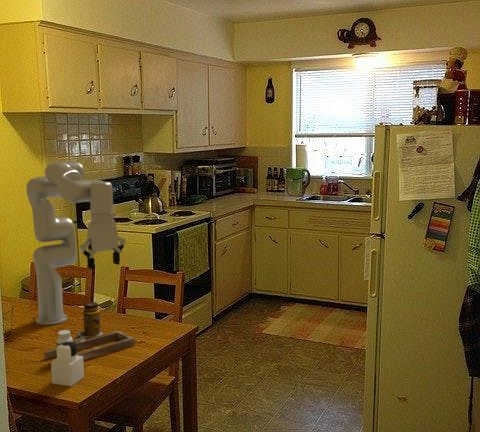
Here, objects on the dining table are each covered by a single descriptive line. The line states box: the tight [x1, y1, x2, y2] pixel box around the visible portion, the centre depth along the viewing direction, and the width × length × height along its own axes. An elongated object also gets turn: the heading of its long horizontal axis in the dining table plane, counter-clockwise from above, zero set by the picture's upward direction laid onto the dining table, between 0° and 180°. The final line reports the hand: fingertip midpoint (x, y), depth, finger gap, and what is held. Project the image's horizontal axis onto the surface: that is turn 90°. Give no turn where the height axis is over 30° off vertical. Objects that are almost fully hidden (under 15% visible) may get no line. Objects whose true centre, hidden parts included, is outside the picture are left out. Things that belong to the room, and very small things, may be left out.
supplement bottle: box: [55, 329, 74, 347], centre depth 189 cm, size 5×5×10 cm
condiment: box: [76, 301, 104, 339], centre depth 212 cm, size 7×8×12 cm
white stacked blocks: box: [50, 342, 85, 387], centre depth 172 cm, size 7×7×12 cm
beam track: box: [43, 330, 136, 362], centre depth 197 cm, size 14×30×3 cm, turn 134°
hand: (104, 266), depth 191 cm, fingers open, 9 cm apart
